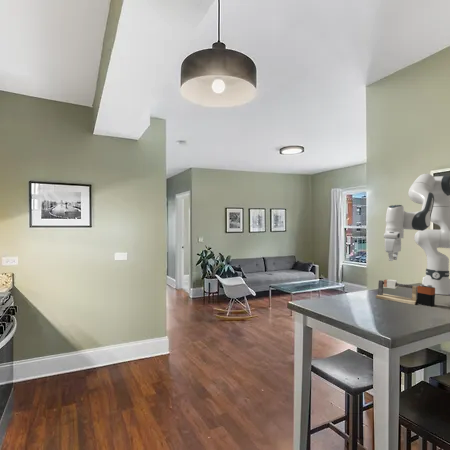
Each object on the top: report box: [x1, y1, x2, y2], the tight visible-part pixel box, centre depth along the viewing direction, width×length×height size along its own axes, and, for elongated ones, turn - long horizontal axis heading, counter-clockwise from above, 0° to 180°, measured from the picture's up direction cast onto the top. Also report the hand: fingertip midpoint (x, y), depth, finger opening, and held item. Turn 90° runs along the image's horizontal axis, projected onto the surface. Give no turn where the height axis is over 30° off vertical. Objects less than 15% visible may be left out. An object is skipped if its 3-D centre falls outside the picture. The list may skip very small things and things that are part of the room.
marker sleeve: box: [386, 279, 398, 289], centre depth 165 cm, size 4×4×4 cm
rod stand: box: [375, 279, 418, 306], centre depth 164 cm, size 10×18×10 cm, turn 49°
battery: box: [416, 283, 436, 307], centre depth 156 cm, size 4×7×10 cm, turn 37°
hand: (393, 260), depth 165 cm, fingers open, 8 cm apart
